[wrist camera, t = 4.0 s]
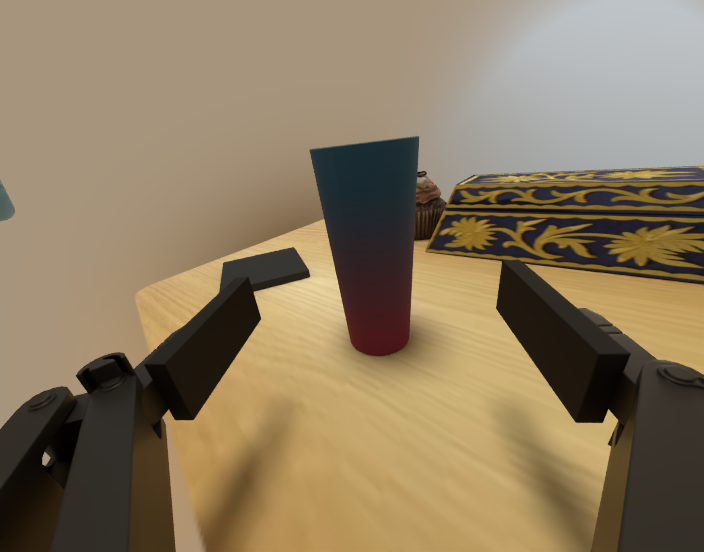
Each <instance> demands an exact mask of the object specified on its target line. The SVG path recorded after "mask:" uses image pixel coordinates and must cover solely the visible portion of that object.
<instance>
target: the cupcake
mask: <svg viewBox="0 0 704 552" xmlns="http://www.w3.org/2000/svg"><path fill="white" fill-rule="evenodd" d="M426 174H427V173H426V172H425V171H422V172H417V189H416V209H415V230H414V240H421V239H428V238H431V237H432V235H433V233H434V231H435V229H436V227H437V224H438V222H439V220H440V218H441V216H442V214H443V211H444V209H446V208H445V207H446V205H447V203H446V202H445V201H444V200H443V199H441V198H440V195H441V192H440V189H439V188H438V187H437V185H435V184H434V183H433V181H432V179H430V178H429V177H428V176H427V175H426Z"/></svg>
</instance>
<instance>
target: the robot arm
mask: <svg viewBox="0 0 704 552" xmlns="http://www.w3.org/2000/svg"><path fill="white" fill-rule="evenodd" d="M14 213H15V209H14V206H13V204H12V202H11V200H10V198H9V196H8V194H7V193H6V190H5V189H4V187H3V185H2V183H1V181H0V221H4V220H8V219H9V218H11V217H12V216H13V215H14ZM496 309H497V310H498V312H499V313H500V315H501V316H502V318H503V319H504V320H505V322H506V323H507V325H508V326H509V328H510V329H511V331H512V332H513V333H514V335H515V336H516V338H517V339H518V341H519V342H520V343H521V345H522V346H523V348H524V349H525V351H526V352H527V353H528V355H529V356H530V358H531V359H532V361H533V362H534V363H535V365H536V366H537V368H538V369H539V371H540V372H541V373H542V375H543V376H544V378H545V379H546V381H547V382H548V383H549V385H550V386H551V388H552V389H553V391H554V392H555V394H556V395H557V396H558V398H559V399H560V401H561V402H562V404H563V405H564V406H565V408H566V409H567V411H568V412H569V414H570V415H571V416H572V418H573V419H574V421H575V422H576V423H603V421H604V418H605V416H606V414H607V411H608V409H609V410H610V411H611V412H612V413H613V415H614V416H615V417H616V418H617V419H618V423H617V425H616V427H615V429H614V432H613V434H612V436H611V438H610V441H609V443H608V445H610V446H611V451H610V456H609V462H608V467H607V472H606V477H605V482H604V487H603V492H602V498H601V503H600V508H599V513H598V518H597V523H596V528H595V533H594V539H593V544H592V549H591V552H704V375H703V374H701V373H699V372H698V371H696V370H694V369H692V368H690V367H687V366H684V365H682V364H679V363H675V362H671V361H666V360H657V359H656V358H655V357H653V356H652V355H651V354H650V353H648V352H647V351H646V350H645V349H643V348H642V347H641V346H639V345H638V344H637V343H636V342H634V341H633V340H632V339H630V338H629V337H628V336H627V335H625V334H622V331H620V330H619V329H618V328H616V327H615V326H613V324H611V323H610V322H609V321H608V320H606V319H605V318H604V317H602V316H601V315H599V314H597V313H595V312H593V311H590V310H588V309H586V308H580V309H577V308H576V307H575V306H574V305H573V304H571V303H570V302H569V301H568V300H567V299H566V298H564V297H563V296H562V295H561V294H560V293H558V292H557V291H556V290H555V289H554V288H552V287H551V286H550V285H549V284H548V283H547V282H545V281H544V280H543V279H542V278H541V277H539V276H538V275H537V274H536V273H535V272H534V271H532V270H531V269H530V268H529V267H528V266H526V265H525V264H524V263H523V262H522V261H520V260H503V261H502V268H501V275H500V283H499V291H498V298H497V306H496ZM260 320H261V316H260V313H259V310H258V306H257V303H256V300H255V296H254V293H253V290H252V286H251V283H250V280H249V277H238V278H235V279H234V280H233V281H232V282H230V283H229V284H228V285H227V286H226V287H225V288H224V289H223V290H222V291H221V292H220V293H219V294H218V295H217V296H216V297H215V298H214V299H212V300H211V301H210V302H209V303H208V304H207V305H206V306H205V307H204V308H203V309H202V310H201V311H200V312H199V313H198V314H197V315H196V316H194V317H193V318H192V319H191V320H190V321H189V322H188V323H187V324H186V325H185V326H183V327H182V328H180V329H178V330H177V331H175V332H174V333H172V334H171V335H170V336H169V337H168V338H167V339H166V340H165V341H164V342H163V343H161V344H160V345H159V346H158V347H157V349H155V350H154V351H153V352H152V353H151V354H150V355H148V357H146V358H145V359H144V360H143V361H142V362H141V363H140V364H139V365H138V366H137V367H136V368H135V369H133V368H132V366H131V364H130V363H129V361H128V359H127V357H126V356H125V354H124V353H120V352H119V353H111V354H108V355H105V356H102V357H100V358H98V359H95V360H94V361H92V362H90V363H89V364H87V365H86V366H84V367H83V368H82V369H81V370H80V371H79V372H78V373H77V375H76V377H77V378H78V380H79V381H80V382H81V384H82V385H83V387H84V388H85V389H86V391H87V392H88V393H85V394H81V395H77V396H73V394H72V393H71V392H70V390H69V389H68V388H67V387H56V388H53V389H50V390H47V391H44V392H41V393H40V394H38V395H35V396H34V397H32V398H31V399H30V400H29V401H27V402H26V403H24V404H23V405H22V406H21V407H20V408H19V409H18V410H17V411H16V412H15V413H14V414H13V415H12V416H11V418H10V419H9V420H8V421H7V422H6V423H5V424H4V426H3V427H2V428H1V429H0V552H176V550H175V537H174V524H173V513H172V499H171V487H170V475H169V474H170V473H169V461H168V449H167V435H166V424H165V422H164V420H163V418H162V417H163V416H164V414H165V413H166V412H167V411H168V409H169V410H170V412H171V414H172V416H173V417H174V419H175V420H194V419H195V417H196V416H197V414H198V413H199V411H200V410H201V408H202V407H203V405H204V404H205V402H206V401H207V399H208V398H209V396H210V395H211V393H212V392H213V390H214V389H215V387H216V386H217V384H218V383H219V381H220V380H221V378H222V377H223V375H224V374H225V372H226V371H227V369H228V368H229V366H230V365H231V363H232V362H233V360H234V359H235V357H236V356H237V354H238V353H239V351H240V350H241V348H242V347H243V345H244V344H245V342H246V341H247V339H248V338H249V336H250V335H251V333H252V332H253V330H254V329H255V327H256V326H257V324H258V323H259V321H260ZM44 452H46V453H47V454H48V455H49V456H50V457H51V458H50V460H49V462H48V463H47V465H46V466H44V465H42V457H43V454H44Z"/></svg>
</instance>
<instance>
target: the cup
mask: <svg viewBox="0 0 704 552" xmlns="http://www.w3.org/2000/svg"><path fill="white" fill-rule="evenodd" d="M418 149H419V136H415V137H407V138H398V139H389V140H381V141H373V142H365V143H357V144H348V145H340V146H332V147H324V148H316V149H310V154H311V159H312V164H313V168H314V173H315V177H316V182H317V187H318V191H319V196H320V201H321V205H322V210H323V214H324V219H325V224H326V228H327V233H328V238H329V242H330V247H331V251H332V256H333V261H334V265H335V270H336V275H337V279H338V284H339V288H340V293H341V298H342V302H343V307H344V312H345V316H346V321H347V325H348V330H349V335H350V339H351V343H352V344H353V346H354V347H355V348H356V349H357V350H359V351H361V352H363V353H366V354H369V355H387V354H391V353H394V352H396V351H398V350H400V349H402V348H403V347H404V346H405V345H406V344H407V342H408V340H409V330H410V310H411V290H412V270H413V250H414V230H415V209H416V189H417V169H418Z"/></svg>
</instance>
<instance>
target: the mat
mask: <svg viewBox="0 0 704 552" xmlns="http://www.w3.org/2000/svg"><path fill="white" fill-rule="evenodd" d="M238 277H249V280H250V283H251V286H252V290H253V291H256V290H260V289H263V288H267V287H271V286H275V285H279V284H283V283H287V282H291V281H295V280H299V279H303V278H307V277H310V274H309V270H308V268H307V267H306V265H305V264H304V262H303V260H302V259H301V257H300V256H299V254H298V253H297V251H296V250H295V248H294V247H292V248H288V249H283V250H279V251H274V252H269V253H265V254H260V255H256V256H251V257H247V258H242V259H238V260H233V261H229V262H224V263H223V269H222V277H221V284H220V291H219V293H220V292H221V291H222V290H223V289H224V288H225V287H226V286H227V285H228V284H229V283H230V282H232V281H233V280H234V279H235V278H238Z"/></svg>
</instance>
